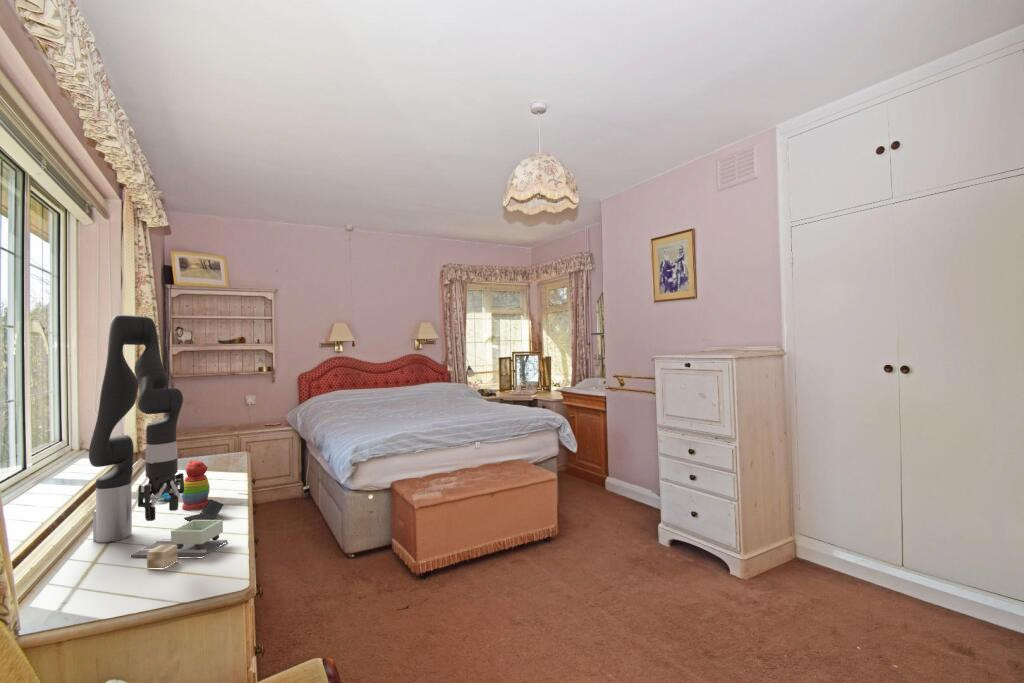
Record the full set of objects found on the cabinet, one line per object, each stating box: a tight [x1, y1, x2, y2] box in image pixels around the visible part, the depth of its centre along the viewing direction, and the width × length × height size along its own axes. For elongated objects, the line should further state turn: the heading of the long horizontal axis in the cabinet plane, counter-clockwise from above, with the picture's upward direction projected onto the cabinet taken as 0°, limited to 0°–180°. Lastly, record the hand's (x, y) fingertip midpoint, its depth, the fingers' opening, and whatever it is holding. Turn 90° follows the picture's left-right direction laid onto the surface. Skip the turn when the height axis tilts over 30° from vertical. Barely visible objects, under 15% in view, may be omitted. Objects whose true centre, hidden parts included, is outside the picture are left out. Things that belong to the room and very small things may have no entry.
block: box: [146, 545, 178, 569], centre depth 142 cm, size 5×5×5 cm
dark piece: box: [183, 498, 225, 522], centre depth 181 cm, size 12×7×10 cm
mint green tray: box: [170, 519, 224, 550], centre depth 152 cm, size 10×10×6 cm
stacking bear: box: [180, 460, 210, 511], centre depth 196 cm, size 11×10×18 cm
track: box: [130, 538, 229, 558], centre depth 153 cm, size 22×12×1 cm, turn 86°
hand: (162, 515), depth 142 cm, fingers open, 8 cm apart
